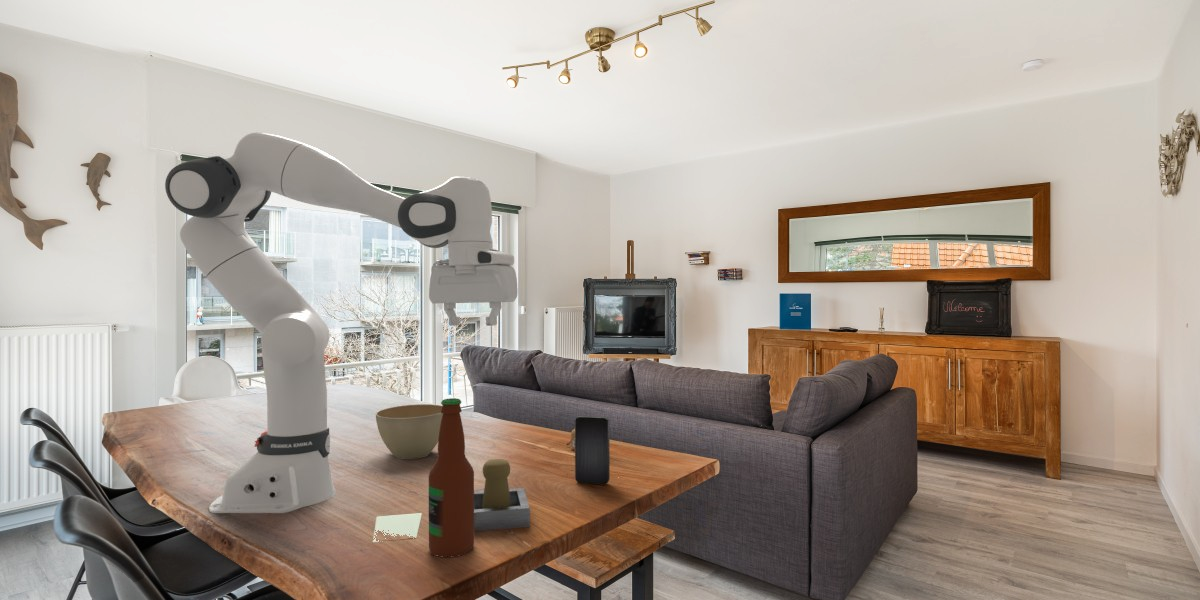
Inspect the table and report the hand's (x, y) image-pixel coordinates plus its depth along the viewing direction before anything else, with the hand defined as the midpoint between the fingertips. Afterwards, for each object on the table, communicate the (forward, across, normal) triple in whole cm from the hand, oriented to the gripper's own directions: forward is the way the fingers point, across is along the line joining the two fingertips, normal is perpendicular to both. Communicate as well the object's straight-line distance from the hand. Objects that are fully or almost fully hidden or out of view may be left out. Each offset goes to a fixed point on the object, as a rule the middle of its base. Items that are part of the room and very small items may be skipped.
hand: (472, 325), depth 115 cm
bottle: (+36, +10, -19) cm, 42 cm away
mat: (+36, -7, -18) cm, 41 cm away
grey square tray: (+36, +8, -5) cm, 38 cm away
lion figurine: (+37, 0, +45) cm, 59 cm away
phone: (+37, +15, +22) cm, 46 cm away
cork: (+37, +8, -5) cm, 38 cm away
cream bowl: (+36, -38, +21) cm, 56 cm away
